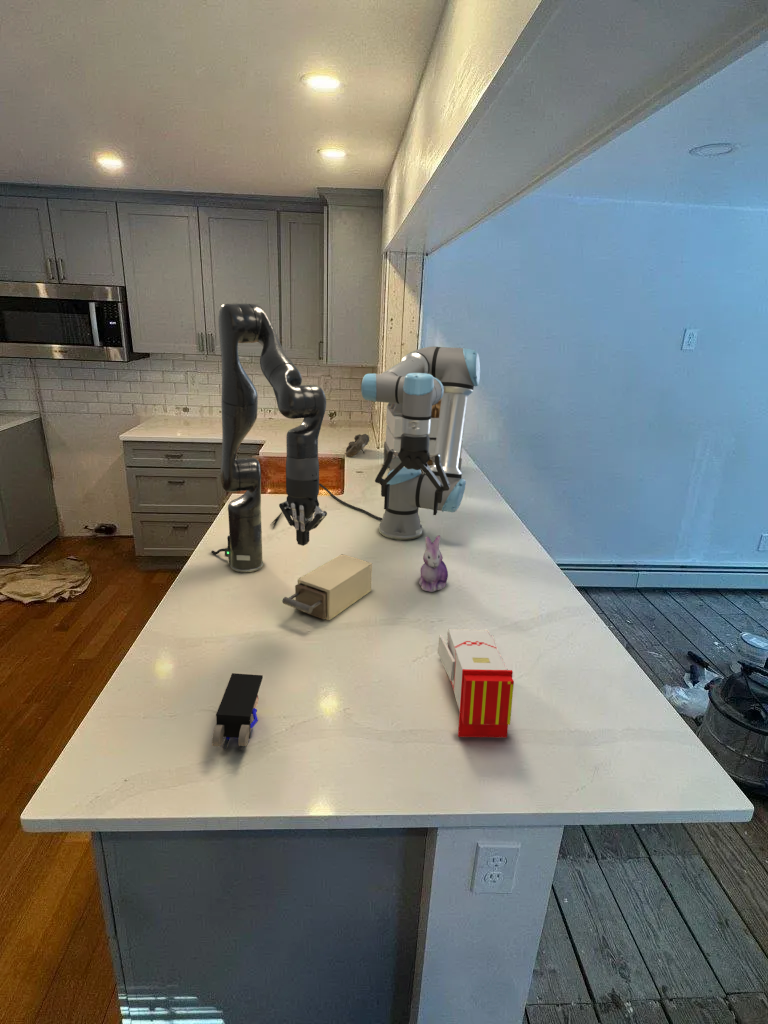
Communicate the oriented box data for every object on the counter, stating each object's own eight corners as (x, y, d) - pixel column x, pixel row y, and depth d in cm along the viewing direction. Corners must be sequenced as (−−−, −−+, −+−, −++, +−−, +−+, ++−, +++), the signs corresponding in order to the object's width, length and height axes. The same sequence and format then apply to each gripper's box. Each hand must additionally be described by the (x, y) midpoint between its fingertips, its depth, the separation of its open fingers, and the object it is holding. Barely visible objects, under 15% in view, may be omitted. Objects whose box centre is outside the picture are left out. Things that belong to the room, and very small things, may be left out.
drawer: (309, 628, 137) (309, 604, 135) (281, 617, 142) (280, 593, 139) (363, 591, 157) (364, 569, 154) (337, 582, 161) (337, 560, 159)
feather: (289, 506, 225) (292, 502, 225) (272, 529, 199) (275, 525, 198) (286, 503, 225) (288, 500, 225) (268, 527, 199) (271, 522, 198)
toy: (488, 613, 130) (523, 677, 101) (484, 667, 133) (517, 744, 104) (435, 612, 130) (455, 676, 101) (432, 666, 133) (451, 743, 103)
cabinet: (329, 620, 143) (329, 590, 140) (297, 608, 148) (297, 579, 145) (371, 590, 159) (372, 563, 156) (341, 581, 164) (341, 553, 161)
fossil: (345, 440, 316) (366, 424, 311) (356, 453, 319) (377, 438, 314) (339, 453, 297) (361, 437, 292) (350, 467, 300) (373, 452, 295)
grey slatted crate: (382, 463, 289) (386, 382, 275) (445, 464, 293) (451, 384, 279) (390, 482, 257) (394, 392, 243) (460, 483, 261) (468, 394, 247)
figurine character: (250, 764, 99) (265, 700, 113) (248, 732, 96) (263, 671, 109) (212, 763, 99) (231, 699, 112) (208, 732, 96) (228, 670, 109)
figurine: (428, 595, 157) (432, 546, 152) (409, 580, 166) (413, 532, 161) (456, 589, 161) (461, 541, 156) (437, 574, 170) (441, 528, 165)
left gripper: (269, 472, 129) (271, 542, 135) (315, 483, 123) (315, 556, 129) (290, 465, 135) (291, 533, 141) (335, 475, 129) (334, 545, 135)
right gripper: (365, 432, 147) (363, 509, 154) (461, 441, 142) (454, 520, 149) (372, 427, 154) (369, 501, 161) (464, 435, 149) (457, 511, 156)
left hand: (302, 544), depth 135 cm, fingers closed
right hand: (410, 510), depth 155 cm, fingers open, 13 cm apart
